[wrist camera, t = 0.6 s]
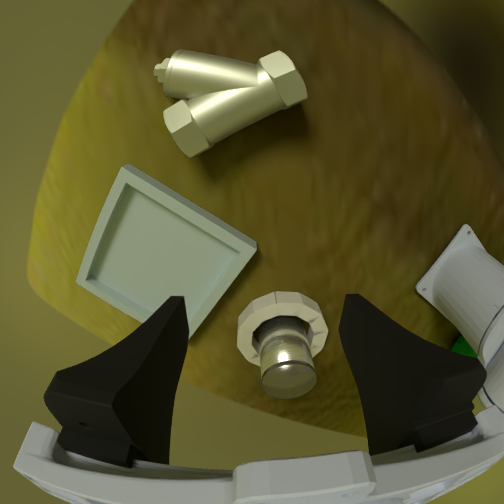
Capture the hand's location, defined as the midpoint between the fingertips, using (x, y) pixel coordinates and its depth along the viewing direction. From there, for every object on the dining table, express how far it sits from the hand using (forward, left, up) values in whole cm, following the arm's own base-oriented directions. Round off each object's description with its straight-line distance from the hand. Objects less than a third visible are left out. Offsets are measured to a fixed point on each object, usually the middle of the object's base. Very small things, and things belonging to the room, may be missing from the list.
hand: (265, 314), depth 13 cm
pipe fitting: (+8, -7, -10) cm, 15 cm away
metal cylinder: (-7, +6, -10) cm, 13 cm away
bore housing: (-7, +6, -10) cm, 13 cm away
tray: (+5, +6, -10) cm, 13 cm away
